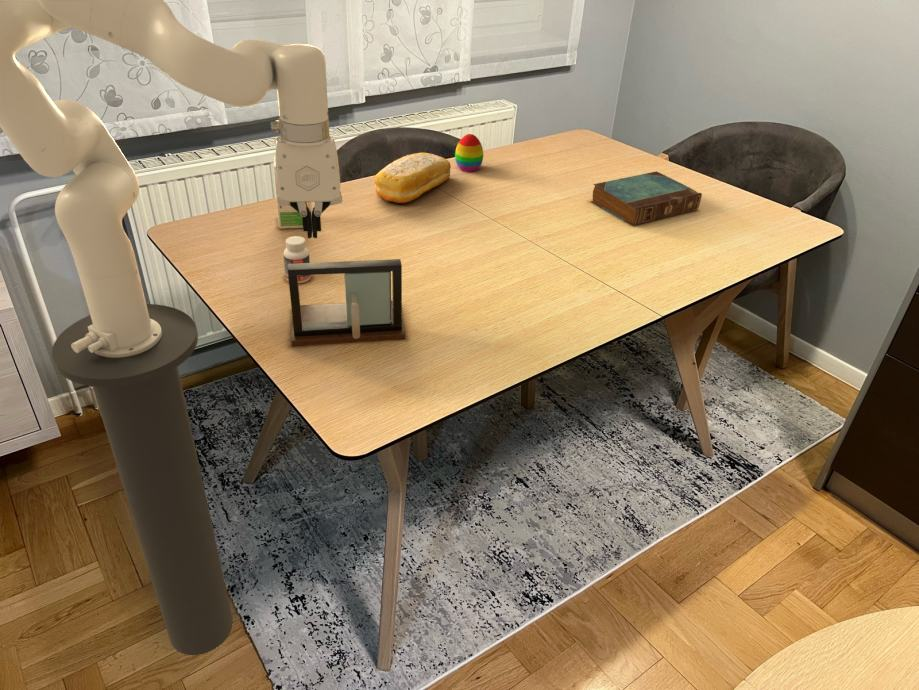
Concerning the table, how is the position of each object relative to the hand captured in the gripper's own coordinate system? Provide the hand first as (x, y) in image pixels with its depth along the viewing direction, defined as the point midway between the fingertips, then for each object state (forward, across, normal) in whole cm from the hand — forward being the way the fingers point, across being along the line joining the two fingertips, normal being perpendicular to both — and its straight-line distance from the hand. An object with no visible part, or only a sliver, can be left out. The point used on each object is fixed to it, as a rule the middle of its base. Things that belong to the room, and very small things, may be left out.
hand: (312, 234), depth 125 cm
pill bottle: (+22, -5, +23) cm, 32 cm away
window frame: (+21, +5, +4) cm, 22 cm away
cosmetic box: (+22, -6, +51) cm, 55 cm away
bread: (+21, +24, +71) cm, 78 cm away
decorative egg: (+21, +42, +86) cm, 98 cm away
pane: (+19, +9, -3) cm, 21 cm away
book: (+21, +85, +56) cm, 104 cm away
